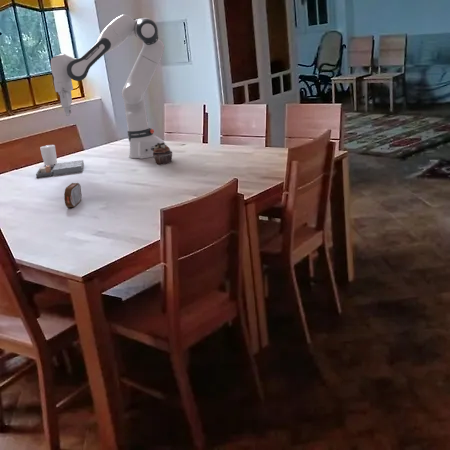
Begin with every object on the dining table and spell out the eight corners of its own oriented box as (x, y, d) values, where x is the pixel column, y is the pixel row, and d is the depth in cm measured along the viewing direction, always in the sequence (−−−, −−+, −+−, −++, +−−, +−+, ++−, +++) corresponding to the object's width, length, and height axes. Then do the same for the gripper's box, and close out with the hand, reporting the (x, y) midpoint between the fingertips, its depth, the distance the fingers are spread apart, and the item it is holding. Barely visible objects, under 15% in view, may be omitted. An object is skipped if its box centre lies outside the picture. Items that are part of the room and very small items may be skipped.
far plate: (84, 165, 338) (83, 159, 337) (82, 171, 322) (81, 166, 322) (57, 169, 336) (56, 163, 335) (54, 175, 321) (52, 169, 320)
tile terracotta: (50, 165, 325) (46, 165, 325) (49, 166, 321) (45, 167, 321) (51, 172, 326) (47, 173, 326) (50, 174, 323) (46, 174, 323)
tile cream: (40, 167, 332) (41, 171, 333) (39, 169, 329) (40, 172, 329) (48, 166, 333) (49, 170, 334) (47, 167, 329) (48, 171, 330)
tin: (77, 200, 268) (73, 180, 266) (84, 199, 268) (80, 179, 265) (65, 210, 254) (61, 190, 252) (73, 209, 254) (69, 189, 251)
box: (56, 169, 336) (55, 165, 335) (53, 175, 321) (52, 172, 320) (40, 171, 335) (39, 167, 334) (36, 178, 320) (36, 174, 319)
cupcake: (172, 163, 317) (169, 143, 313) (153, 165, 317) (150, 145, 314) (174, 159, 326) (171, 140, 323) (155, 161, 326) (152, 142, 323)
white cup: (60, 162, 355) (56, 144, 352) (55, 165, 347) (51, 147, 344) (46, 163, 356) (43, 145, 353) (41, 166, 348) (37, 148, 345)
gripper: (68, 88, 316) (73, 116, 320) (71, 85, 336) (76, 111, 340) (55, 89, 316) (60, 117, 320) (59, 86, 335) (64, 113, 339)
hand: (68, 114), depth 330 cm, fingers open, 8 cm apart
